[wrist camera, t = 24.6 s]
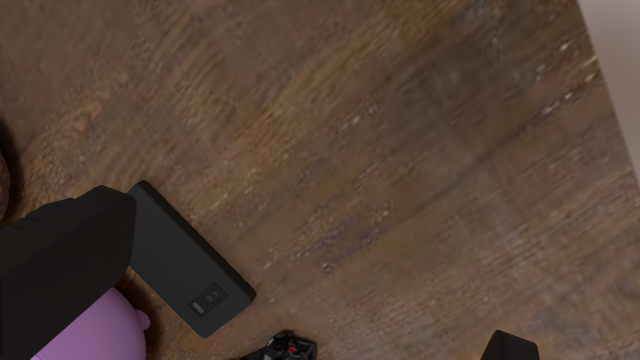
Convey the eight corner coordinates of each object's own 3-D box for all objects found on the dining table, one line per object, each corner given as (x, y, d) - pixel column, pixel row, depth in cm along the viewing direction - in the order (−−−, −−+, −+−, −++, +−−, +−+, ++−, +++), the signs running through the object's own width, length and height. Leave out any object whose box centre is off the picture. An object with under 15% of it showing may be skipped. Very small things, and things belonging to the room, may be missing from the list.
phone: (135, 183, 47) (253, 302, 48) (144, 177, 48) (258, 294, 50) (92, 230, 51) (203, 341, 52) (101, 224, 52) (209, 332, 53)
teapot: (216, 353, 54) (148, 455, 43) (143, 411, 60) (67, 514, 49) (70, 214, 52) (-40, 282, 41) (10, 288, 58) (-100, 365, 47)
